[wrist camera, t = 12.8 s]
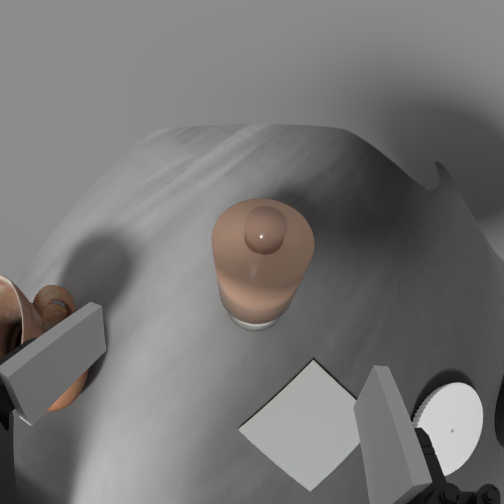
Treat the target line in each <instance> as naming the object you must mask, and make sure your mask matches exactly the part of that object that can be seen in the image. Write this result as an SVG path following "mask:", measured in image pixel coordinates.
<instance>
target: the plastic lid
mask: <svg viewBox="0 0 504 504" xmlns="http://www.w3.org/2000/svg"><path fill="white" fill-rule="evenodd" d="M482 409H483V408H482V404H481V401H480V398H479V396H478V395H477V393H476V392H475V390H473V388H471V386H470V387H469V385H467V384H464V383H461V382H460V383H459V382H457V383H451V384H447V385H443V386H442V387H439V388H437V389H436V390H434V391H433V393H430V395H428V396H427V398H426V399H425V400H424V402H422V405H420V406H419V409H418V410H417V413H415V417H414V418H413V422H412V425H413V428H420V427H422V429H423V430H424V431H425V432H426V433H427V434H428V435H429V437H430V440H431V442H432V447H434V450H435V455H437V458H438V460H439V463H440V466H441V469H442V471H443V474H444V475H445V476H446V475H447V474H450V473H453V471H456V469H459V467H460V466H462V464H464V463H465V461H467V460H468V458H469V457H470V455H471V454H472V452H473V451H474V448H475V447H476V444H477V443H478V440H479V436H480V435H481V434H480V433H481V431H482V430H481V428H482V424H483V422H482V421H483V415H482V413H483V411H482Z"/></svg>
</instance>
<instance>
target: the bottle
mask: <svg viewBox="0 0 504 504" xmlns="http://www.w3.org/2000/svg"><path fill="white" fill-rule="evenodd" d="M314 247H315V243H314V235H313V232H312V229H311V227H310V225H309V224H308V222H307V221H306V219H305V218H304V217H303V216H302V215H301V214H300V213H299V212H298V211H296V210H295V209H294V208H292V207H290V206H289V205H287V204H284V203H282V202H279V201H276V200H271V199H251V200H246V201H243V202H240V203H237V204H235V205H233V206H232V207H230V208H229V209H227V210H226V211H225V212H224V213H223V214H222V215H221V216H220V217H219V219H218V220H217V222H216V224H215V226H214V229H213V233H212V248H213V255H214V262H215V268H216V275H217V281H218V288H219V294H220V298H221V301H222V304H223V306H224V307H225V309H226V310H227V311H228V312H229V313H230V314H231V315H232V316H233V317H235V318H236V319H238V320H240V321H242V322H245V323H249V324H265V323H269V322H271V321H274V320H276V319H277V318H279V317H280V316H281V315H283V314H284V312H285V311H286V310H287V309H288V307H289V305H290V303H291V301H292V299H293V297H294V295H295V293H296V291H297V289H298V287H299V285H300V283H301V280H302V278H303V276H304V274H305V272H306V270H307V268H308V266H309V263H310V261H311V259H312V256H313V253H314Z"/></svg>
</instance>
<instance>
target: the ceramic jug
mask: <svg viewBox="0 0 504 504" xmlns="http://www.w3.org/2000/svg"><path fill="white" fill-rule="evenodd" d="M56 300H58V301H61V302H63V303H64V304H65V307H66V309H65V308H64V307H62V306H60V305H58V304H55V303H51V302H53V301H56ZM75 312H76V310H75V304H74V300H73V298H72V296H71V295H70V293H69V292H68V291H67V290H65V289H64V288H62V287H60V286H56V285H47V286H45V287H43V288H42V289H41V290H40V291H39V292H38V294H37V295H36V296H35V298H34V301H33V303H30V302H29V301H28V299H27V298H26V297H25V295H24V294H23V293H22V292H21V290H20V289H19V288H18V287H17V286H16V285H15V284H14V283H13V282H12V281H11V280H9V279H8V278H6V277H5V276H1V275H0V359H1V358H3V357H4V356H5V355H7V354H8V353H10V352H11V351H13V350H14V349H15V348H17V347H19V345H21V344H22V343H24V342H25V341H26V340H29V339H32V338H35V337H37V338H39V337H40V336H41V335H43V334H44V333H46V332H47V331H48V330H50V329H51V328H53V327H54V326H56V325H57V324H59V323H60V322H61V321H63V320H64V319H66V318H67V317H69V316H70V315H72V314H73V313H75ZM88 370H89V368H88V369H87V370H86V371H85V372H84V373H83V374H82V375H81V376H80V377H79V378H78V379H77V380H76V381H75V382H74V383H73V384H72V385H71V386H70V387H69V388H68V389H67V390H66V391H65V392H64V393H63V394H62V395H61V396H60V397H59V398H58V399H57V400H56V401H55V402H54V403H53V404H52V406H51V407H50V408H49V409H48V410H47V411H56V410H60V409H63V408H65V407H67V406H68V405H70V404H71V403H72V402H73V401H74V400H75V399H76V398H77V397H78V396H79V394H80V393H81V391H82V389H83V387H84V385H85V382H86V379H87V376H88Z"/></svg>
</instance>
